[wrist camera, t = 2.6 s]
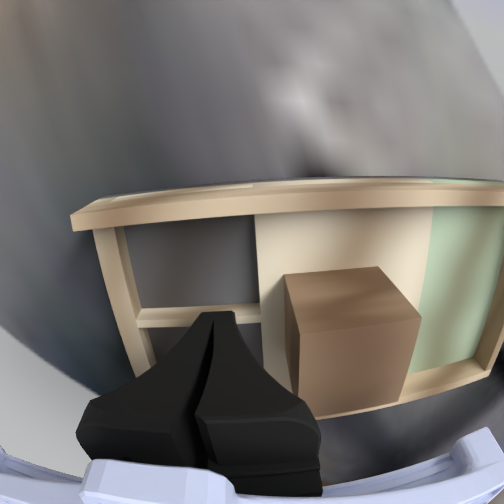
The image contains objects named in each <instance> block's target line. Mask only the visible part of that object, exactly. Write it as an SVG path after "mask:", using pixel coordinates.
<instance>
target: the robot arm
mask: <svg viewBox="0 0 504 504" xmlns="http://www.w3.org/2000/svg"><path fill="white" fill-rule="evenodd" d="M76 437H77V439H78V441H79V443H80V445H81V446H82V448H83V449H84V450H85V452H86V453H87V455H88V456H89V457H90V458H91V460H92V461H91V462H90V463H89V464H88V466H87V469H86V471H85V474H84V478H80V477H76V476H72V475H69V474H65V473H61V472H58V471H54V470H51V469H48V468H45V467H41V466H38V465H35V464H32V463H30V462H27V461H24V460H21V459H18V458H16V457H13V456H11V455H8V454H6V452H5V451H4V449H3V448H2V447H1V446H0V504H487V503H488V502H490V501H491V500H492V499H493V498H494V497H495V496H496V495H497V494H498V493H499V492H500V491H501V490H503V489H504V453H503V452H502V450H501V448H500V447H499V445H498V443H497V442H496V440H495V438H494V437H493V435H492V433H491V432H490V430H489V429H488V427H484V428H481V429H479V430H477V431H475V432H472V433H470V434H468V435H465V436H463V437H462V438H460V439H459V440H458V441H456V443H455V444H454V445H453V447H452V448H451V450H450V452H449V453H446V454H444V455H441V456H438V457H436V458H433V459H430V460H427V461H424V462H421V463H418V464H415V465H412V466H409V467H406V468H402V469H399V470H396V471H392V472H389V473H385V474H381V475H377V476H373V477H369V478H365V479H360V480H356V481H351V482H346V483H341V484H336V485H330V486H324V487H322V482H321V477H320V472H319V470H320V463H319V458H318V455H319V449H320V443H321V433H320V429H319V427H318V424H317V422H316V420H315V418H314V416H313V414H312V412H311V410H310V409H309V407H308V405H307V404H306V402H305V401H304V400H302V399H301V398H299V397H297V396H296V395H294V394H293V393H291V392H290V391H288V390H287V389H286V388H284V387H283V386H282V385H281V384H279V383H278V382H277V381H276V380H275V379H274V378H273V377H272V376H271V375H270V374H269V373H268V372H267V371H266V370H265V369H264V368H263V367H262V366H261V365H260V363H259V362H258V361H257V360H256V358H255V357H254V356H253V354H252V353H251V351H250V350H249V348H248V346H247V345H246V343H245V341H244V339H243V337H242V335H241V333H240V331H239V329H238V326H237V323H236V318H235V312H233V311H232V310H230V311H212V312H201V313H200V314H199V316H198V317H197V318H196V320H195V321H194V323H193V324H192V325H191V327H190V328H189V329H188V330H187V332H186V333H185V334H184V335H183V337H182V338H181V339H180V340H179V341H178V342H177V344H176V345H175V346H174V347H173V348H172V349H171V350H170V351H169V352H168V353H167V354H166V355H165V356H164V357H163V358H162V359H161V360H160V361H158V362H157V363H156V364H155V365H154V366H152V367H151V368H150V369H148V370H147V371H145V372H144V373H143V374H141V375H140V376H138V377H137V378H135V379H134V380H132V381H130V382H129V383H127V384H125V385H123V386H122V387H120V388H118V389H116V390H114V391H112V392H109V393H107V394H104V395H102V396H100V397H97V398H95V399H92V400H90V402H89V403H88V405H87V407H86V409H85V411H84V414H83V416H82V419H81V421H80V423H79V426H78V428H77V430H76Z"/></svg>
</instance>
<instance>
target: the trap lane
mask: <svg viewBox="0 0 504 504" xmlns="http://www.w3.org/2000/svg"><path fill="white" fill-rule="evenodd" d="M70 217H71V222H72V227H73V231H81V230H90V229H92V230H93V234H94V239H95V244H96V248H97V252H98V257H99V261H100V265H101V269H102V273H103V277H104V280H105V284H106V288H107V291H108V295H109V299H110V302H111V305H112V309H113V312H114V315H115V319H116V322H117V325H118V328H119V331H120V334H121V337H122V340H123V343H124V346H125V349H126V352H127V355H128V358H129V360H130V363H131V366H132V368H133V371H134V374H135V376H136V378H137V377H138V376H140V375H141V374H143V373H144V372H145V371H147V370H148V369H150V368H151V367H152V366H154V365H155V364H156V363H157V362H158V361H160V360H161V359H162V358H163V357H164V356H165V355H166V354H167V353H168V352H169V351H170V350H171V349H172V348H173V347H174V346H175V345H176V344H177V342H178V341H179V340H180V339H181V338H182V337H183V335H184V334H185V333H186V332H187V330H188V329H189V328H190V327H191V325H192V324H193V323H194V321H195V320H196V318H197V317H198V316H199V314H200V313H201V312H212V311H230V310H232V311H233V312H235V318H236V323H237V326H238V329H239V331H240V333H241V335H242V337H243V339H244V341H245V343H246V345H247V346H248V348H249V350H250V351H251V353H252V354H253V356H254V357H255V358H256V360H257V361H258V362H259V363H260V365H261V366H262V367H263V368H264V369H265V370H266V371H267V372H268V373H269V374H270V375H271V376H272V377H273V378H274V379H275V380H276V381H277V382H278V383H279V384H281V385H282V386H283V387H284V388H286V389H287V390H288V391H290V392H291V393H292V387H291V382H290V376H289V371H288V365H287V359H286V354H285V299H284V274H293V273H305V272H318V271H329V270H341V269H352V268H363V267H374V266H378V267H379V268H380V269H381V270H382V271H383V272H384V273H385V274H386V276H387V277H388V278H389V279H390V280H391V281H392V282H393V283H394V285H395V286H396V287H397V288H398V289H399V290H400V292H401V293H402V294H403V295H404V296H405V297H406V298H407V300H408V301H409V302H410V303H411V304H412V306H413V307H414V308H415V309H416V310H417V312H418V313H419V314H420V315H421V316H422V320H421V325H420V329H419V333H418V337H417V341H416V344H415V348H414V352H413V355H412V359H411V362H410V366H409V369H408V372H407V376H406V379H405V382H404V385H403V388H402V391H401V394H400V397H399V400H398V402H394V403H390V404H385V405H381V406H376V407H371V408H367V409H361V410H356V411H351V412H345V413H339V414H333V415H326V416H319V417H314V418H315V420H319V419H326V418H332V417H339V416H345V415H350V414H356V413H361V412H366V411H371V410H376V409H380V408H385V407H389V406H393V405H398V404H402V403H406V402H410V401H413V400H417V399H421V398H424V397H428V396H431V395H435V394H438V393H441V392H444V391H448V390H451V389H454V388H457V387H460V386H463V385H466V384H468V383H471V382H474V381H477V380H479V379H482V378H485V377H487V376H489V374H490V371H491V369H492V367H493V365H494V362H495V360H496V358H497V355H498V353H499V351H500V348H501V346H502V343H503V341H504V182H503V181H499V180H485V179H468V178H447V177H415V176H344V177H310V178H287V179H269V180H253V181H239V182H226V183H214V184H203V185H193V186H183V187H173V188H164V189H156V190H148V191H140V192H132V193H124V194H117V195H110V196H103V197H102V198H100V199H98V200H96V201H94V202H93V203H91V204H89V205H87V206H85V207H84V208H82V209H80V210H78V211H77V212H75V213H73V214H72V215H70Z"/></svg>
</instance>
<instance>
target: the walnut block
mask: <svg viewBox="0 0 504 504" xmlns="http://www.w3.org/2000/svg"><path fill="white" fill-rule="evenodd" d="M284 299H285V354H286V359H287V365H288V371H289V376H290V382H291V387H292V393H293V394H294V395H296V396H297V397H299V398H301V399H302V400H304V401H305V402H306V404H307V405H308V407H309V409H310V410H311V412H312V414H313V416H314V417H319V416H326V415H333V414H339V413H345V412H351V411H356V410H361V409H367V408H371V407H376V406H381V405H385V404H390V403H394V402H398V400H399V397H400V394H401V391H402V388H403V385H404V382H405V379H406V376H407V372H408V369H409V366H410V362H411V359H412V355H413V352H414V348H415V344H416V341H417V337H418V333H419V329H420V325H421V320H422V316H421V315H420V314H419V313H418V312H417V310H416V309H415V308H414V307H413V306H412V304H411V303H410V302H409V301H408V300H407V298H406V297H405V296H404V295H403V294H402V293H401V292H400V290H399V289H398V288H397V287H396V286H395V285H394V283H393V282H392V281H391V280H390V279H389V278H388V277H387V276H386V274H385V273H384V272H383V271H382V270H381V269H380V268H379V267H378V266H374V267H363V268H352V269H341V270H329V271H318V272H305V273H293V274H284Z"/></svg>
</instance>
